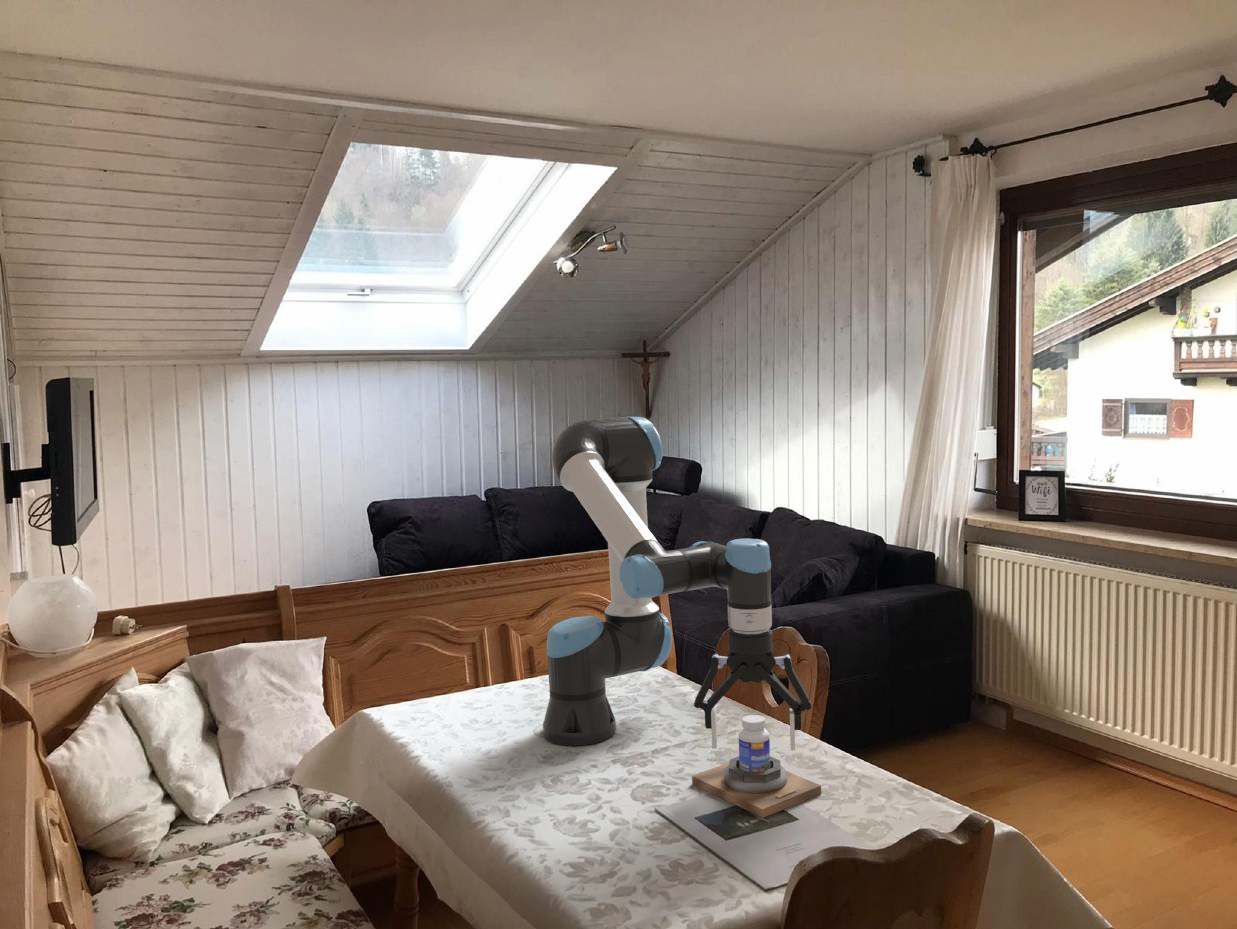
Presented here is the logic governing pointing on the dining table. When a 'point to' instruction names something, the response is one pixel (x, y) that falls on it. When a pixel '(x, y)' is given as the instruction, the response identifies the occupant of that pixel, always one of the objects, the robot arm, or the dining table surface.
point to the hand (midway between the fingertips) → (753, 746)
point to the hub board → (757, 799)
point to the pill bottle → (754, 745)
